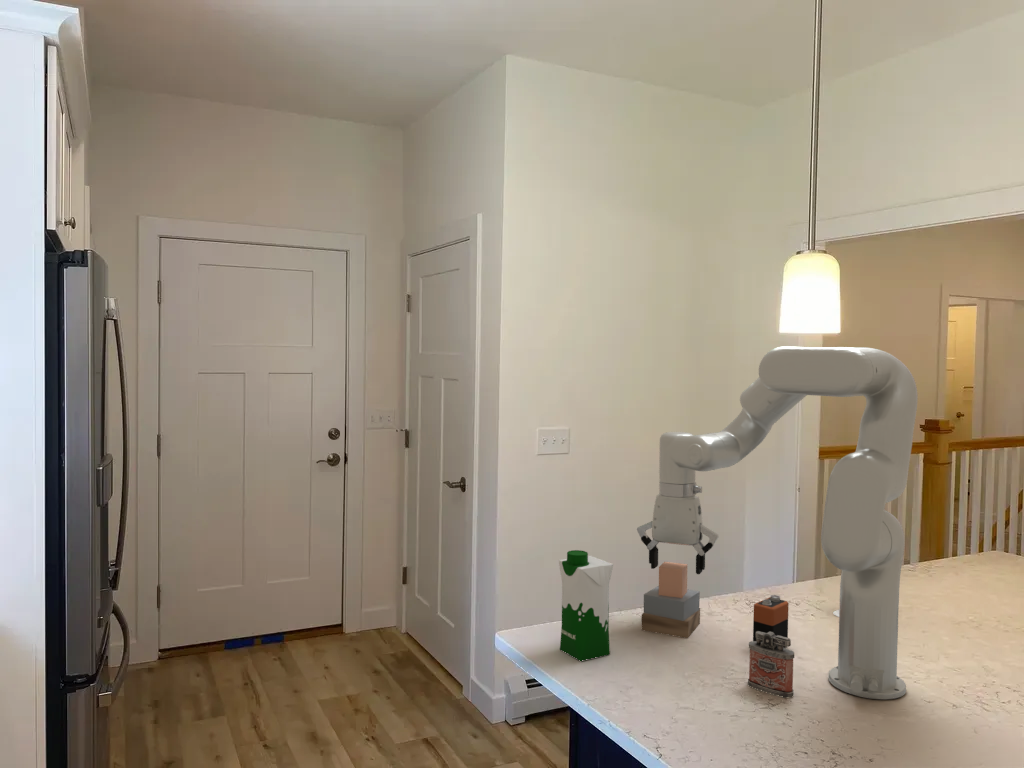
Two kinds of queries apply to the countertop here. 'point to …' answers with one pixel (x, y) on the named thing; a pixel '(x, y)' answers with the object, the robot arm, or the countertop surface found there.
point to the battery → (771, 616)
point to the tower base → (671, 624)
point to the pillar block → (673, 579)
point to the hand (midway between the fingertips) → (676, 569)
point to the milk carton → (585, 605)
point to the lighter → (771, 664)
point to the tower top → (671, 604)
